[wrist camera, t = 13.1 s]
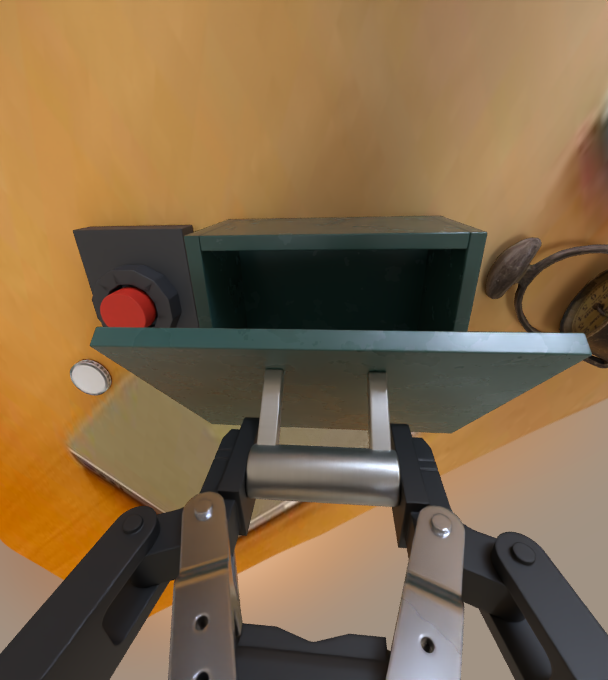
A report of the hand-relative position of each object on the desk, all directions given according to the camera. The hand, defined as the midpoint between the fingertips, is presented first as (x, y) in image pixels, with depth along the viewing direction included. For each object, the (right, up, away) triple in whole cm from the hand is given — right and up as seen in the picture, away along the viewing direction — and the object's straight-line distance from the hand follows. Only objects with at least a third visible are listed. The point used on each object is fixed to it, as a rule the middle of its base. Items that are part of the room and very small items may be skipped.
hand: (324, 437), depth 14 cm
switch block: (-14, +8, +17) cm, 24 cm away
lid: (0, +1, +4) cm, 4 cm away
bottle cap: (-23, 0, +22) cm, 32 cm away
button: (-15, +7, +14) cm, 21 cm away
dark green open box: (+2, +8, +16) cm, 18 cm away
